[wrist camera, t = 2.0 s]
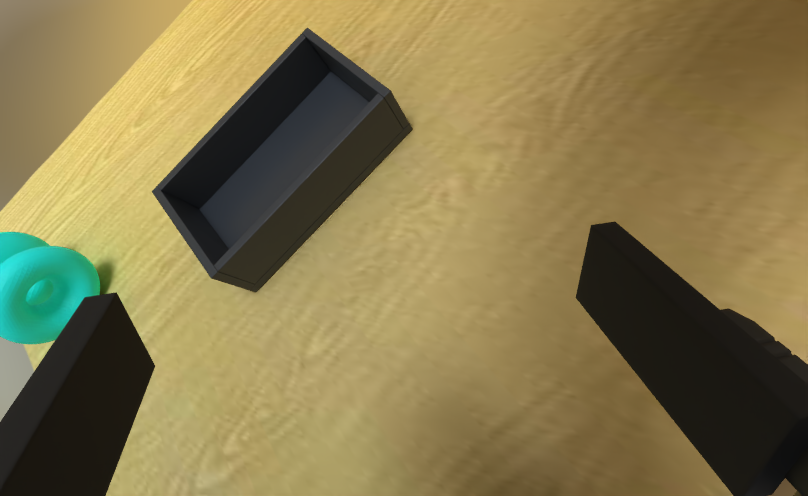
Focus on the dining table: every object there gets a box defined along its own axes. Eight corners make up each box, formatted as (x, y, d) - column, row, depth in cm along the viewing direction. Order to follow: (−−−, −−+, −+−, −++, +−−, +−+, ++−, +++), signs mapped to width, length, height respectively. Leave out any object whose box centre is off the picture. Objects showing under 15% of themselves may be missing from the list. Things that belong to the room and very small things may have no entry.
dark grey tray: (336, 68, 47) (307, 27, 42) (412, 129, 42) (390, 90, 36) (198, 213, 48) (151, 191, 42) (256, 292, 42) (210, 278, 37)
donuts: (81, 351, 47) (-32, 343, 38) (29, 325, 51) (-85, 311, 42) (121, 264, 49) (22, 236, 40) (67, 245, 53) (-34, 215, 44)
